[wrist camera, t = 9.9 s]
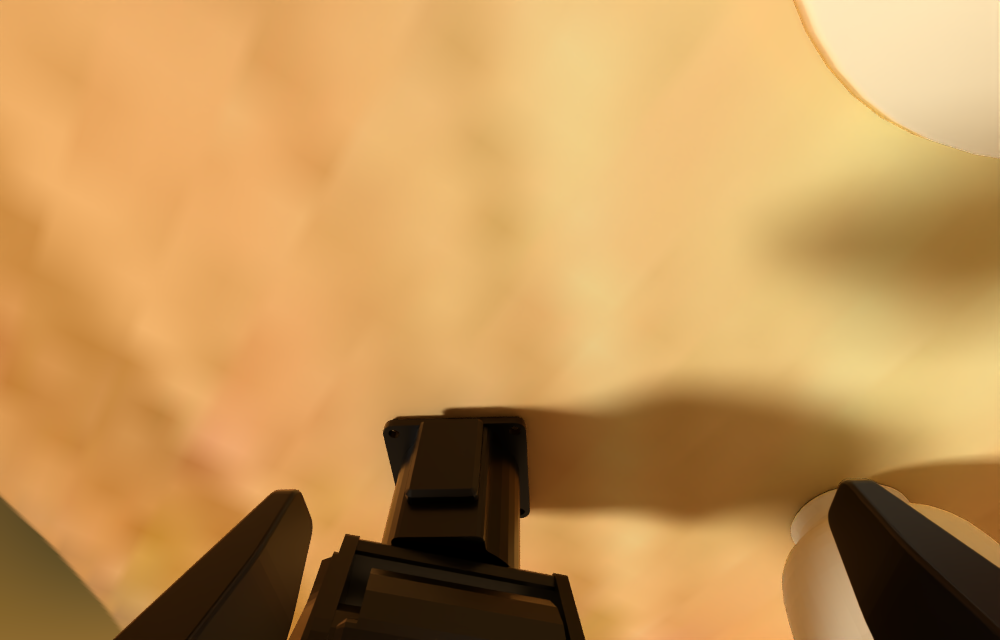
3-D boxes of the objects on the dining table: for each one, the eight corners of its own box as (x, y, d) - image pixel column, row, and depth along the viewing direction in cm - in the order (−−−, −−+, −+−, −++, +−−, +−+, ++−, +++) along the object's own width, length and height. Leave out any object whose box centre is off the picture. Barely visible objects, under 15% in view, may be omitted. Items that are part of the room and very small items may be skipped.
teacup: (747, 628, 32) (829, 852, 24) (710, 468, 25) (809, 709, 17) (964, 594, 30) (1142, 831, 21) (993, 407, 23) (1278, 652, 14)
